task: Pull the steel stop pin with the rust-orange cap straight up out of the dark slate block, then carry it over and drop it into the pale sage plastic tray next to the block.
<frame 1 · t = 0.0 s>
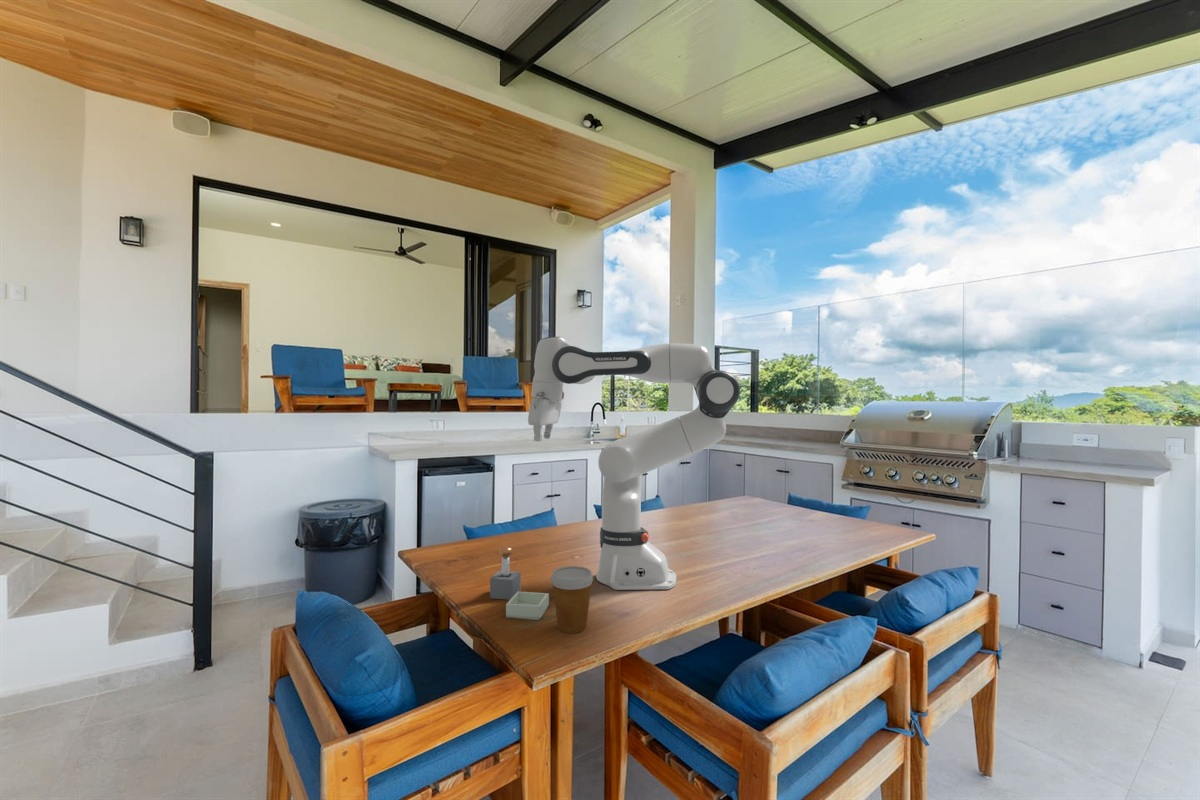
hand: (542, 439, 145), 39 cm above the table, tool pointing down, fingers open, 8 cm apart
pin block: (505, 594, 129), on the table
tray: (528, 611, 119), on the table
stop pin: (505, 571, 129), in the pin block
disposable coffee cup: (572, 627, 111), on the table
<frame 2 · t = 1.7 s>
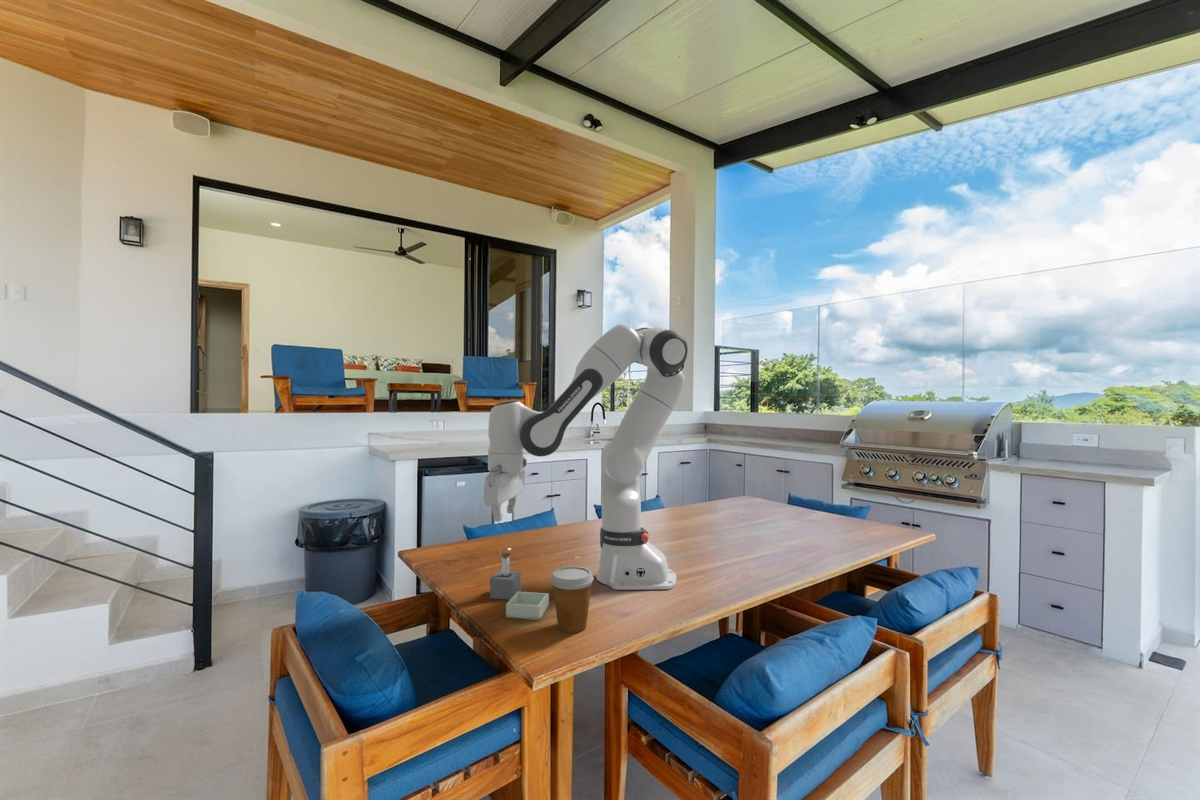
hand: (504, 516, 129), 20 cm above the table, tool pointing down, fingers open, 8 cm apart
nothing on the table moved.
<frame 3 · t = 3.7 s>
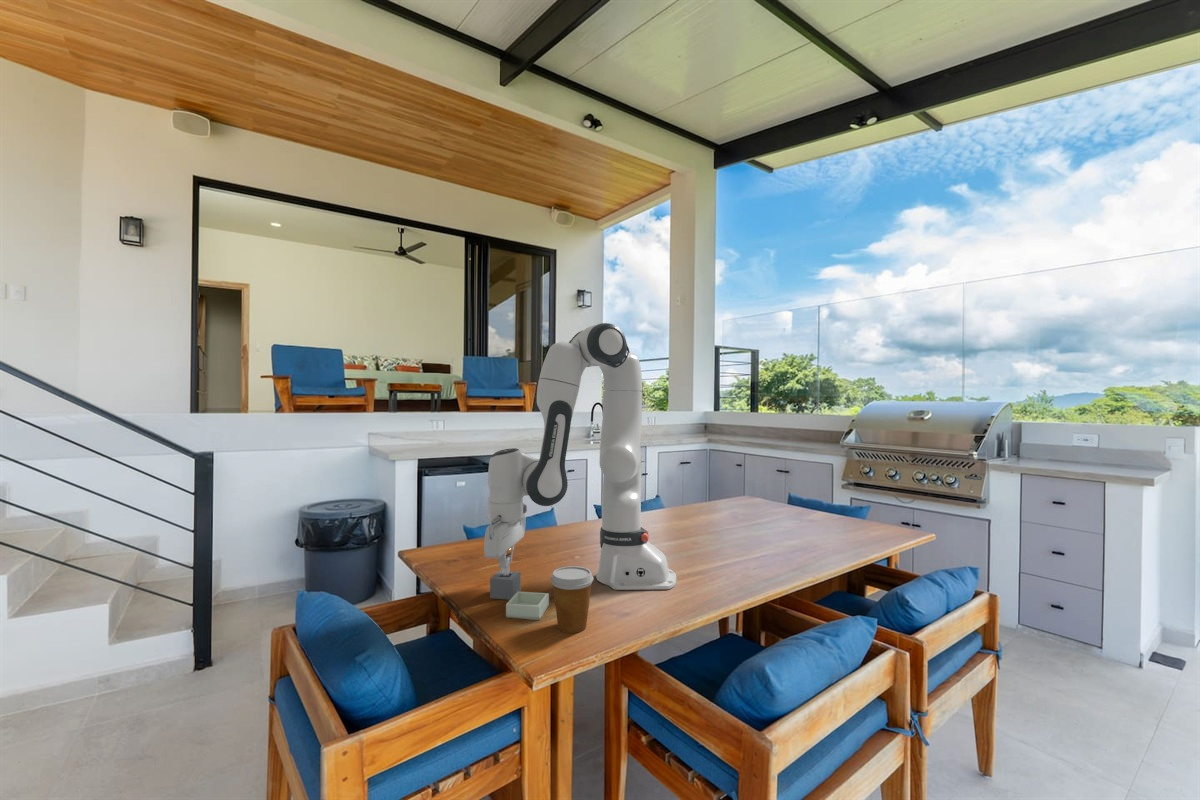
hand: (505, 565, 129), 8 cm above the table, tool pointing down, fingers closed on stop pin, 2 cm apart
stop pin: (505, 571, 129), in the pin block, touching gripper
everything else where it was.
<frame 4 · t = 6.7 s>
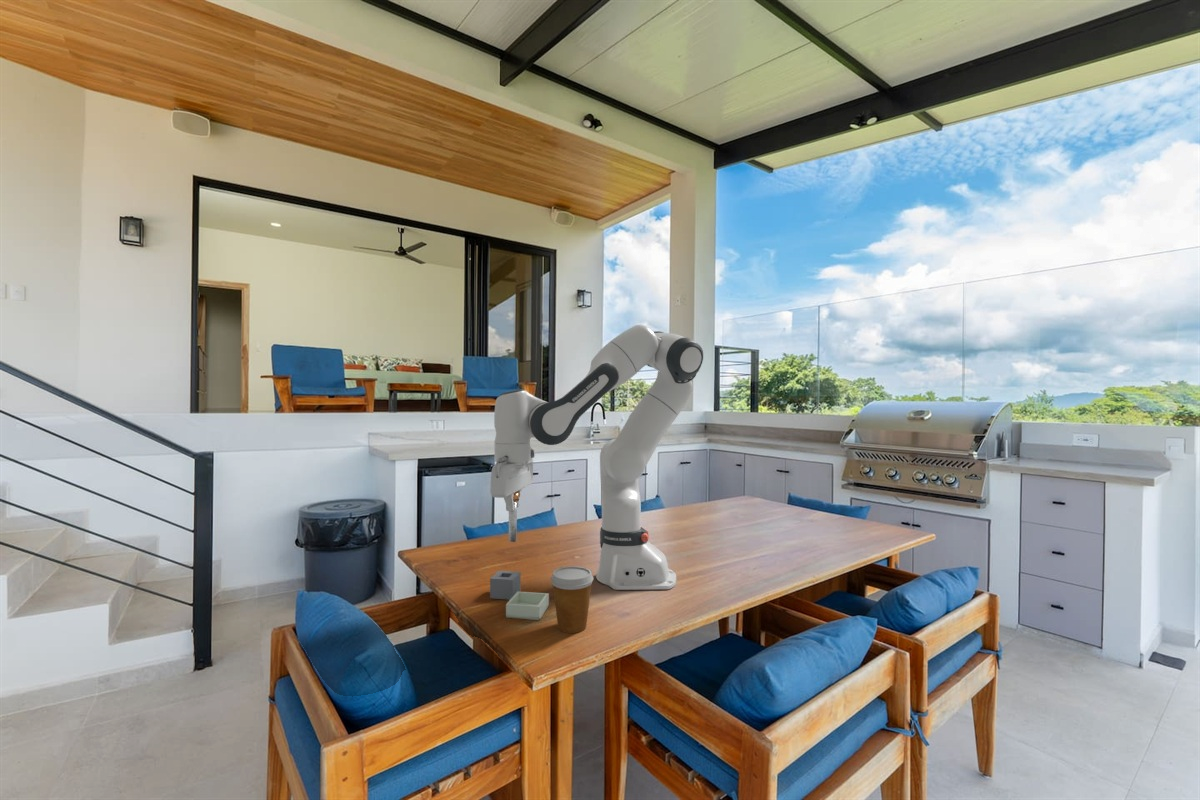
hand: (512, 509, 126), 23 cm above the table, tool pointing down, fingers closed on stop pin, 2 cm apart
stop pin: (512, 517, 126), point 21 cm above the table, touching gripper
everything else where it was.
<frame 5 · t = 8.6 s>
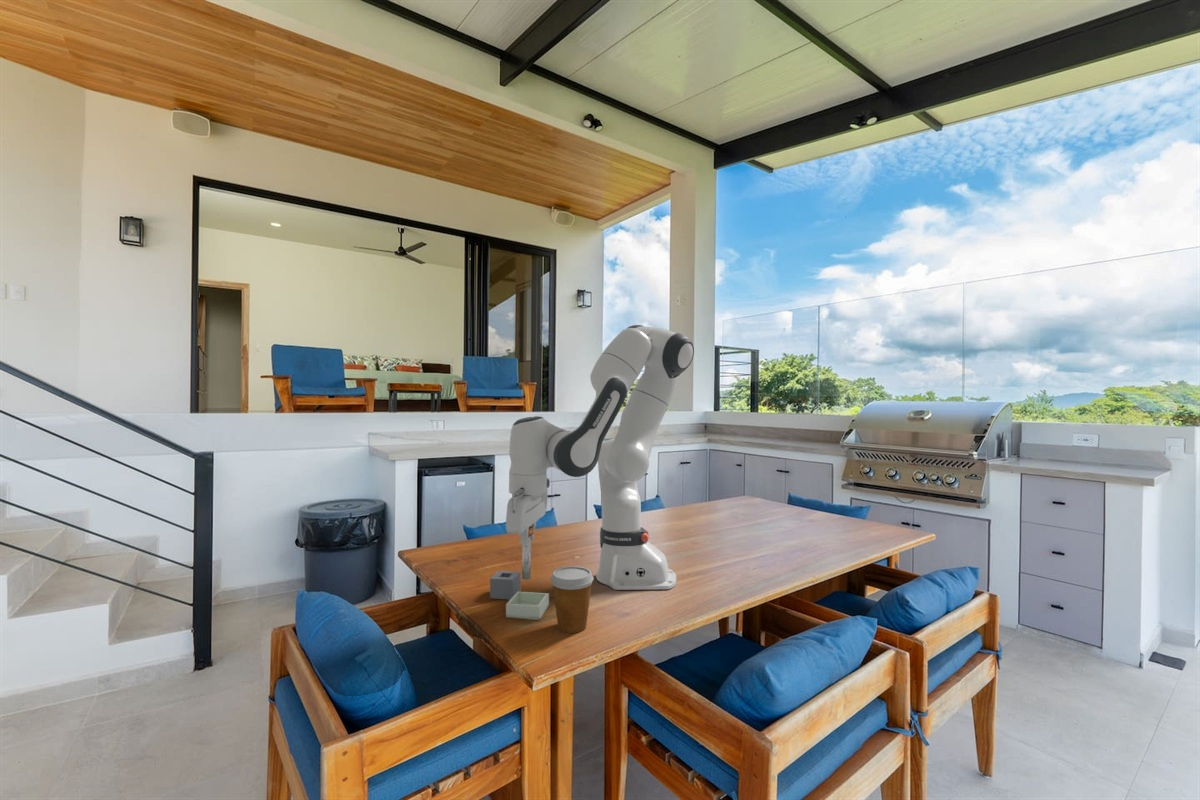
hand: (527, 543, 119), 16 cm above the table, tool pointing down, fingers closed on stop pin, 2 cm apart
stop pin: (526, 552, 119), point 14 cm above the table, touching gripper
everything else where it was.
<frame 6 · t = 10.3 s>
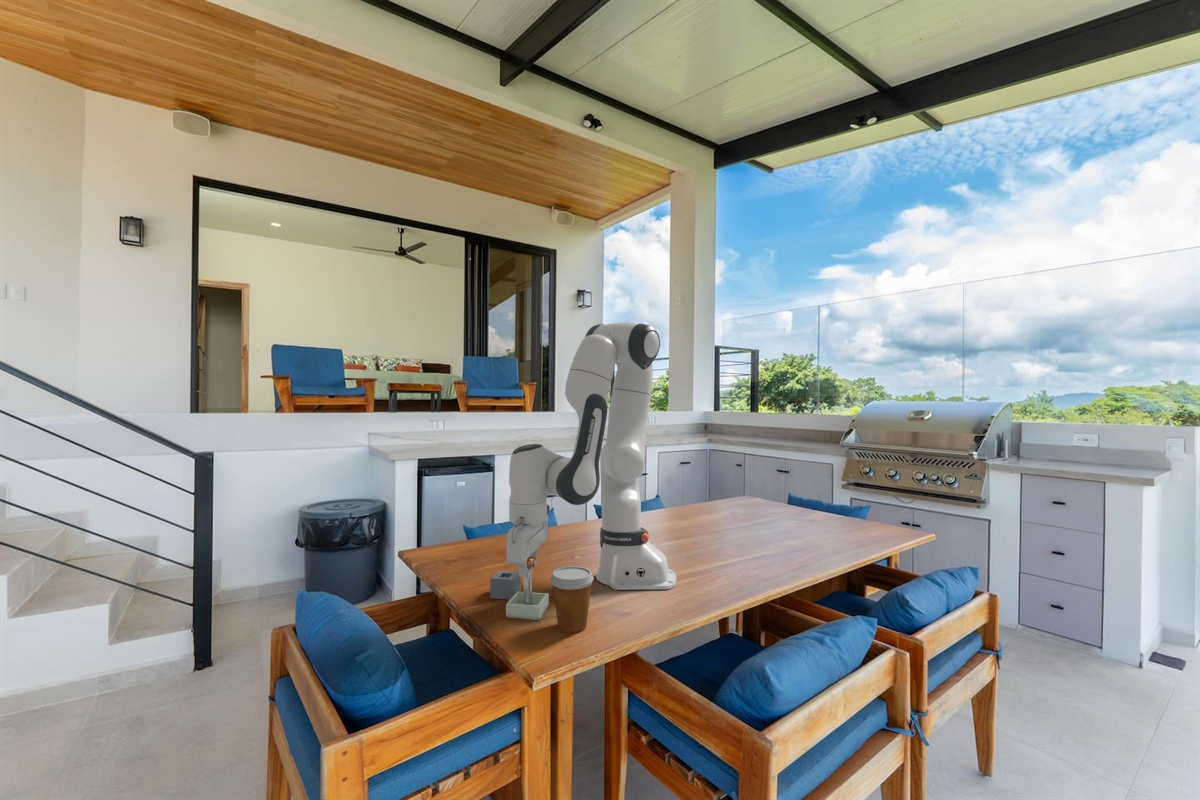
hand: (528, 571, 119), 10 cm above the table, tool pointing down, fingers open, 5 cm apart
stop pin: (527, 583, 119), in the tray, point 7 cm above the table
everything else where it was.
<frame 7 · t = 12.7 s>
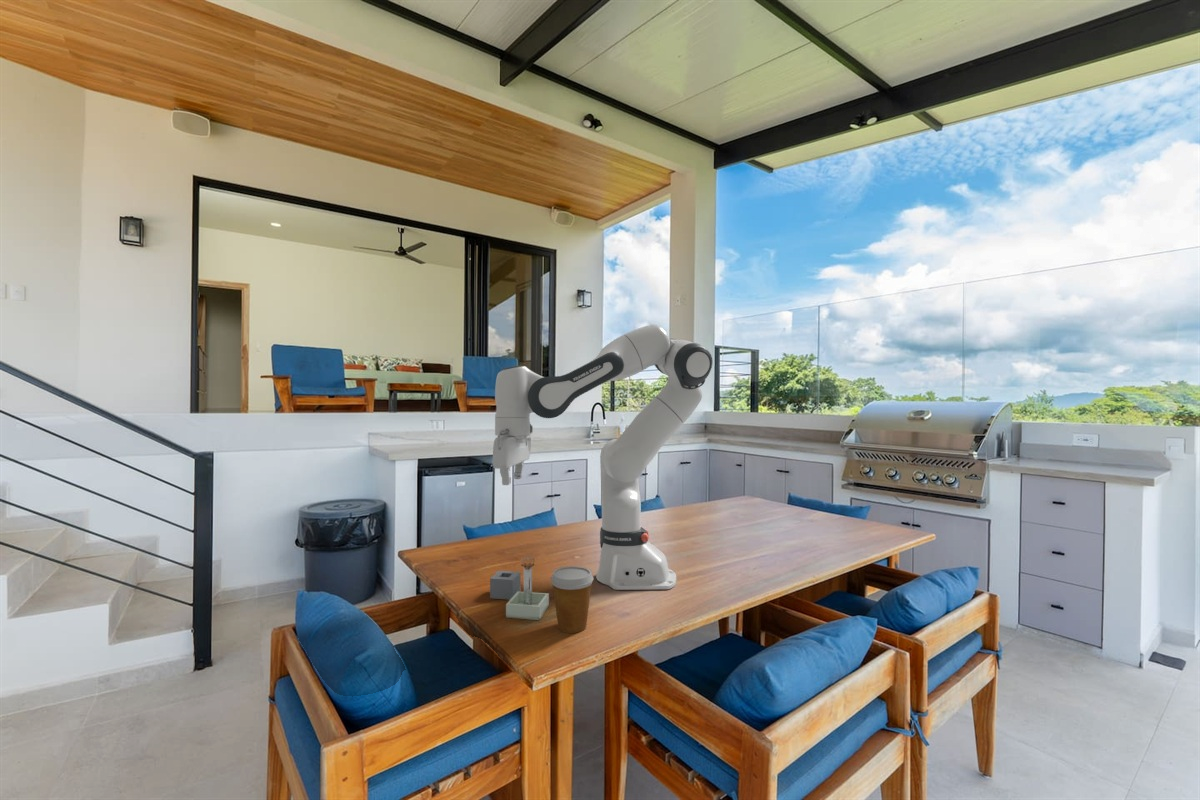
hand: (512, 481, 130), 29 cm above the table, tool pointing down, fingers open, 8 cm apart
nothing on the table moved.
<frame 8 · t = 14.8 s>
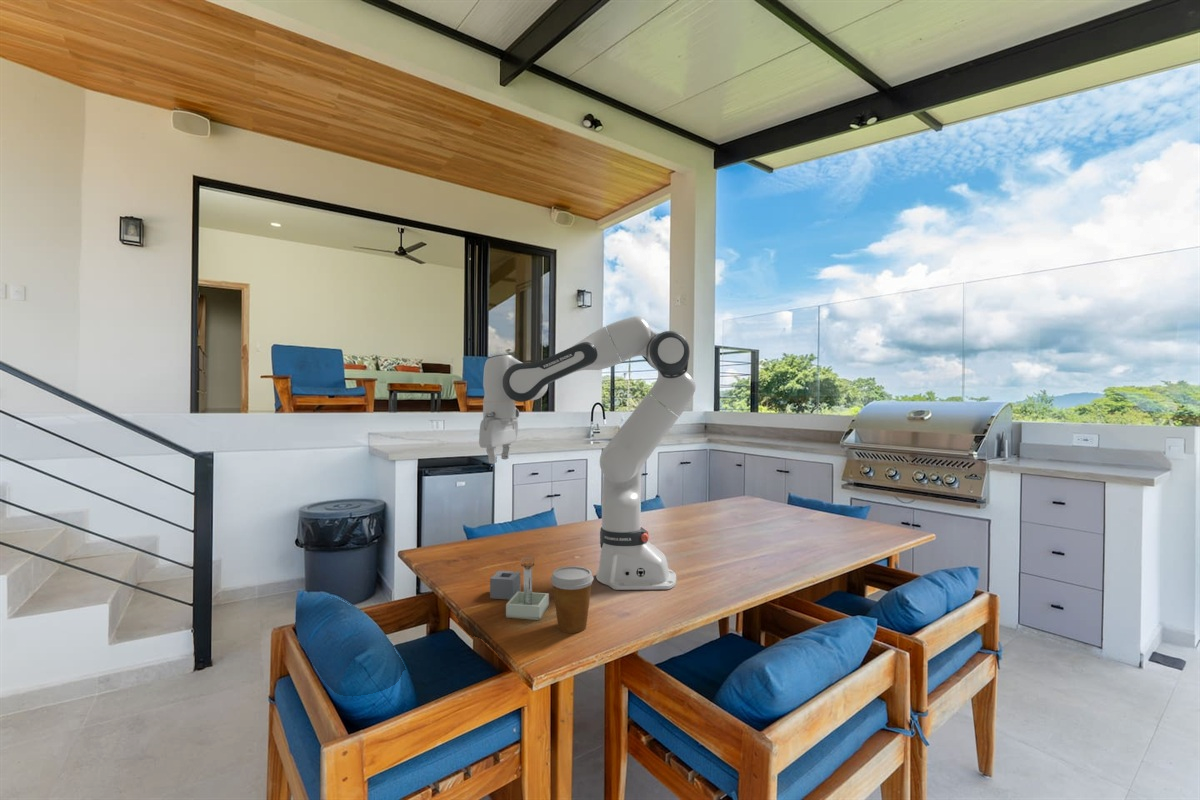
hand: (499, 461, 141), 33 cm above the table, tool pointing down, fingers open, 8 cm apart
nothing on the table moved.
at the end: stop pin inside the target area on the tray (0.1 cm from its centre), point 6.6 cm above the tray's base; the gripper is holding nothing; stop pin moved 12.7 cm from its start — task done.
